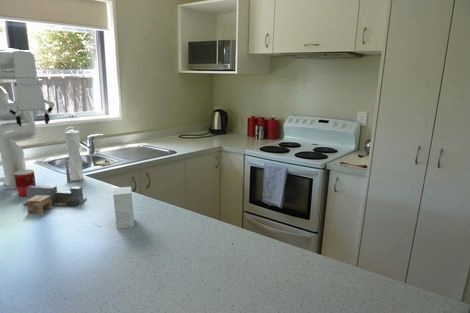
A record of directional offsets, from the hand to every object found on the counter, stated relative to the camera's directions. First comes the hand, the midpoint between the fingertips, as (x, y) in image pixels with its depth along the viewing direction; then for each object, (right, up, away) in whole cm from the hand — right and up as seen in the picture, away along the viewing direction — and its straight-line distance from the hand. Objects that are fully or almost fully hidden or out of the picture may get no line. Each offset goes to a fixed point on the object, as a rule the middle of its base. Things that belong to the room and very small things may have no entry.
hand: (33, 124), depth 143 cm
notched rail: (+6, -33, +7) cm, 34 cm away
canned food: (-13, -31, +18) cm, 38 cm away
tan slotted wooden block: (+4, -35, -2) cm, 36 cm away
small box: (+43, -38, -15) cm, 59 cm away
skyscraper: (-1, -26, +41) cm, 48 cm away
